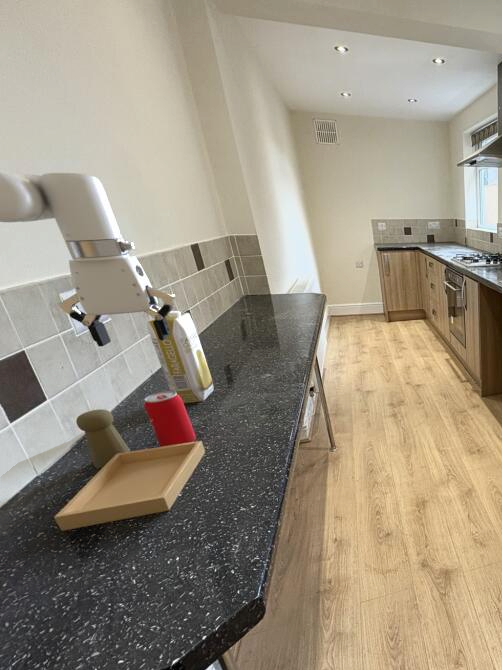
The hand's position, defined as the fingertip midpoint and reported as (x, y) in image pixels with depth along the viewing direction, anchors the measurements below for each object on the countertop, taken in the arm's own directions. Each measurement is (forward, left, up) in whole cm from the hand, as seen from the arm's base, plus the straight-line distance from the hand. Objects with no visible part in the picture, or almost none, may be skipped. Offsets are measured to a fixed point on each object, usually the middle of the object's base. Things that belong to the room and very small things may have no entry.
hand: (135, 341), depth 80 cm
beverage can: (+1, 0, -24) cm, 24 cm away
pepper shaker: (-10, -2, -24) cm, 26 cm away
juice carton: (-4, +28, -24) cm, 37 cm away
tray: (0, -15, -24) cm, 28 cm away
